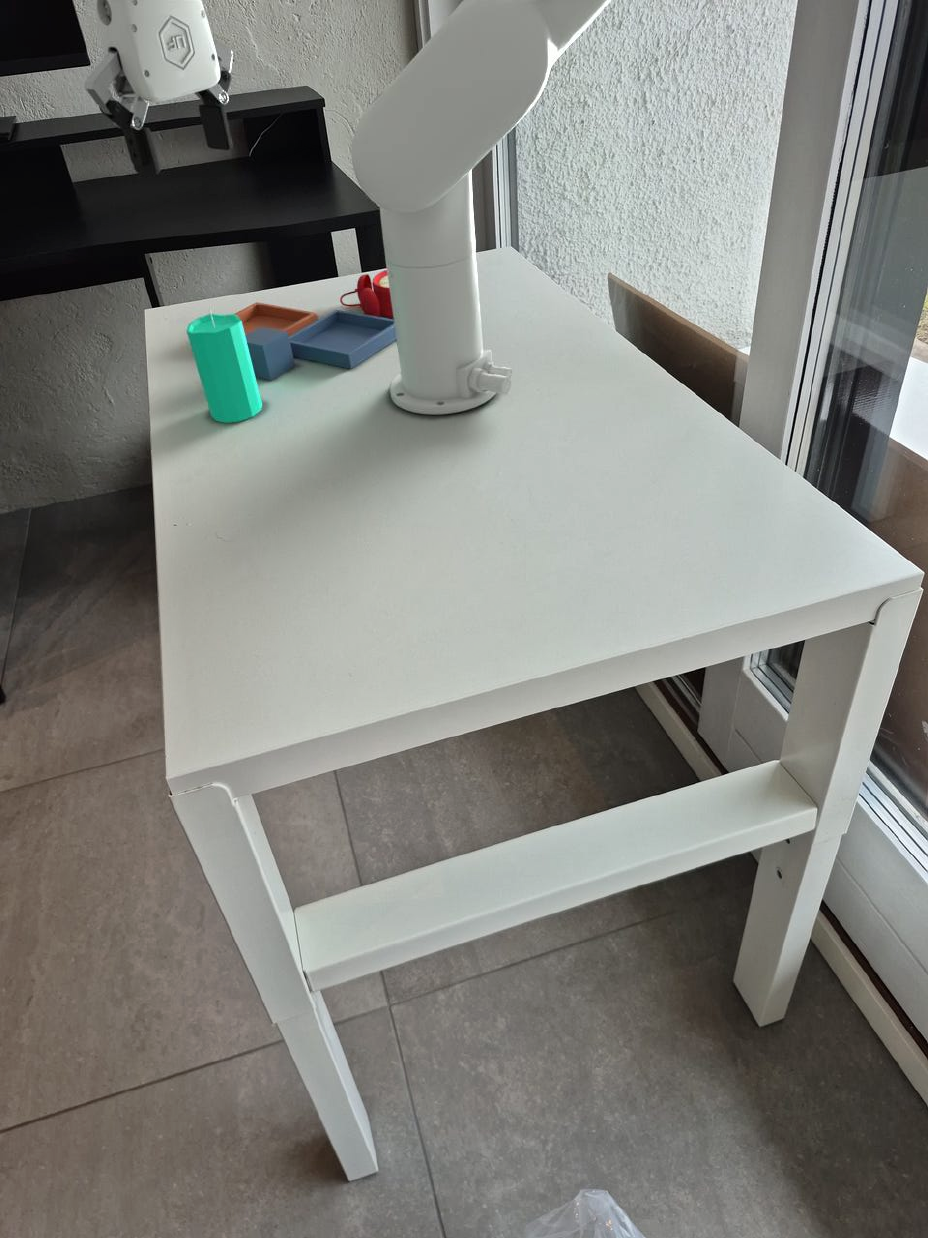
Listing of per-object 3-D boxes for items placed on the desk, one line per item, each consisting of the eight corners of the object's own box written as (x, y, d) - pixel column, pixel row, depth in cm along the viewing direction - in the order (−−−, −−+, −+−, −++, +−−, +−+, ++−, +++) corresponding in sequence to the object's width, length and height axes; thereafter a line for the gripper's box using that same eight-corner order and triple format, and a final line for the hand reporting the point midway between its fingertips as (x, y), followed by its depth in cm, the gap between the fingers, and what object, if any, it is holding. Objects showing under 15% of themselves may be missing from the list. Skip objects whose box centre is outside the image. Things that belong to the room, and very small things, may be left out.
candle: (251, 423, 102) (224, 319, 95) (202, 422, 104) (172, 319, 96) (270, 398, 107) (245, 298, 99) (223, 398, 108) (195, 298, 100)
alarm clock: (458, 284, 120) (345, 276, 117) (452, 330, 124) (343, 323, 121) (444, 260, 128) (338, 251, 125) (439, 304, 132) (336, 297, 128)
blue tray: (404, 334, 118) (402, 320, 117) (351, 369, 111) (348, 354, 110) (338, 322, 123) (336, 309, 122) (284, 354, 117) (280, 340, 115)
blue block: (295, 366, 114) (287, 331, 111) (270, 380, 111) (262, 345, 108) (269, 360, 116) (260, 326, 113) (244, 374, 113) (235, 340, 110)
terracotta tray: (319, 326, 123) (316, 312, 122) (263, 358, 116) (259, 344, 115) (259, 315, 128) (256, 301, 127) (202, 345, 121) (198, 331, 120)
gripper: (79, -41, 73) (143, 186, 84) (232, -63, 84) (272, 142, 94) (24, -38, 77) (92, 180, 87) (178, -59, 87) (222, 137, 98)
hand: (185, 160), depth 91 cm, fingers open, 9 cm apart
